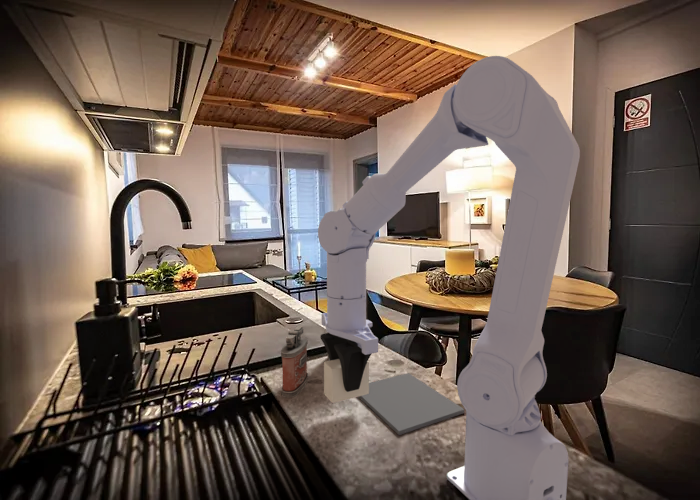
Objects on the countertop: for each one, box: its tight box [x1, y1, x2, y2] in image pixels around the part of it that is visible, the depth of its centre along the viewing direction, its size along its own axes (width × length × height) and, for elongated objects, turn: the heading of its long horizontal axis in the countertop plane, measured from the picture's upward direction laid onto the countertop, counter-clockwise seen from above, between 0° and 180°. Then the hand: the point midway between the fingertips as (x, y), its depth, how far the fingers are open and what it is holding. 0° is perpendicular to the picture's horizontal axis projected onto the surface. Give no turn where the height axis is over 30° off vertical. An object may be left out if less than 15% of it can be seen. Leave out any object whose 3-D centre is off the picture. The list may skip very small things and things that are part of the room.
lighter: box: [280, 325, 309, 398], centre depth 62 cm, size 8×3×10 cm, turn 168°
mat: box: [358, 372, 465, 436], centre depth 57 cm, size 14×12×1 cm
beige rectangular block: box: [323, 359, 370, 404], centre depth 53 cm, size 3×6×5 cm, turn 117°
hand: (346, 384), depth 53 cm, fingers closed on beige rectangular block, 3 cm apart
